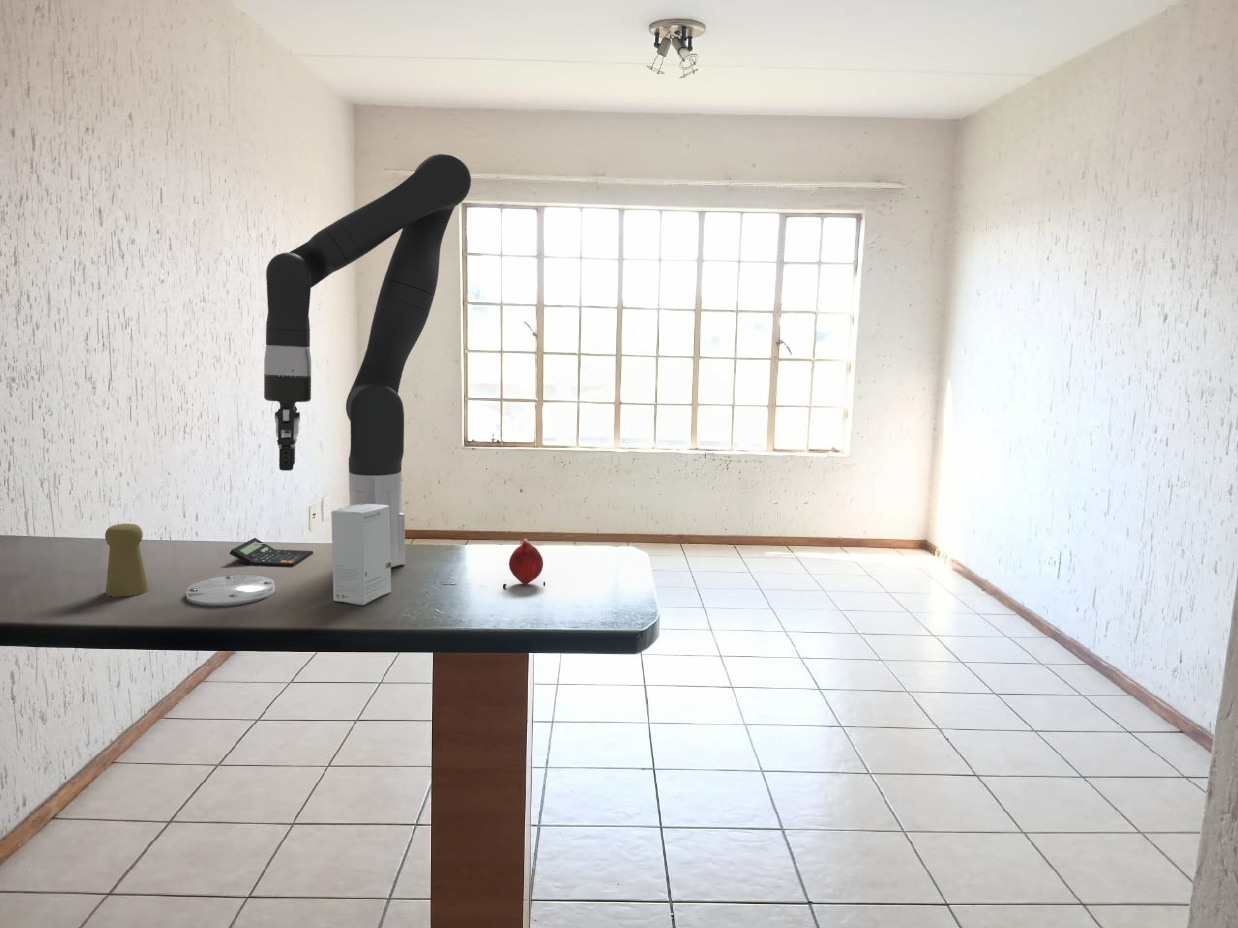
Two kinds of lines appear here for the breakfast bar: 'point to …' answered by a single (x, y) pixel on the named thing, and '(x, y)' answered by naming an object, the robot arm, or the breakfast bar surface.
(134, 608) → the breakfast bar surface
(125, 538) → the cork
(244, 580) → the flange
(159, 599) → the breakfast bar surface
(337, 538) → the skincare box
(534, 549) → the onion
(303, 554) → the calculator
